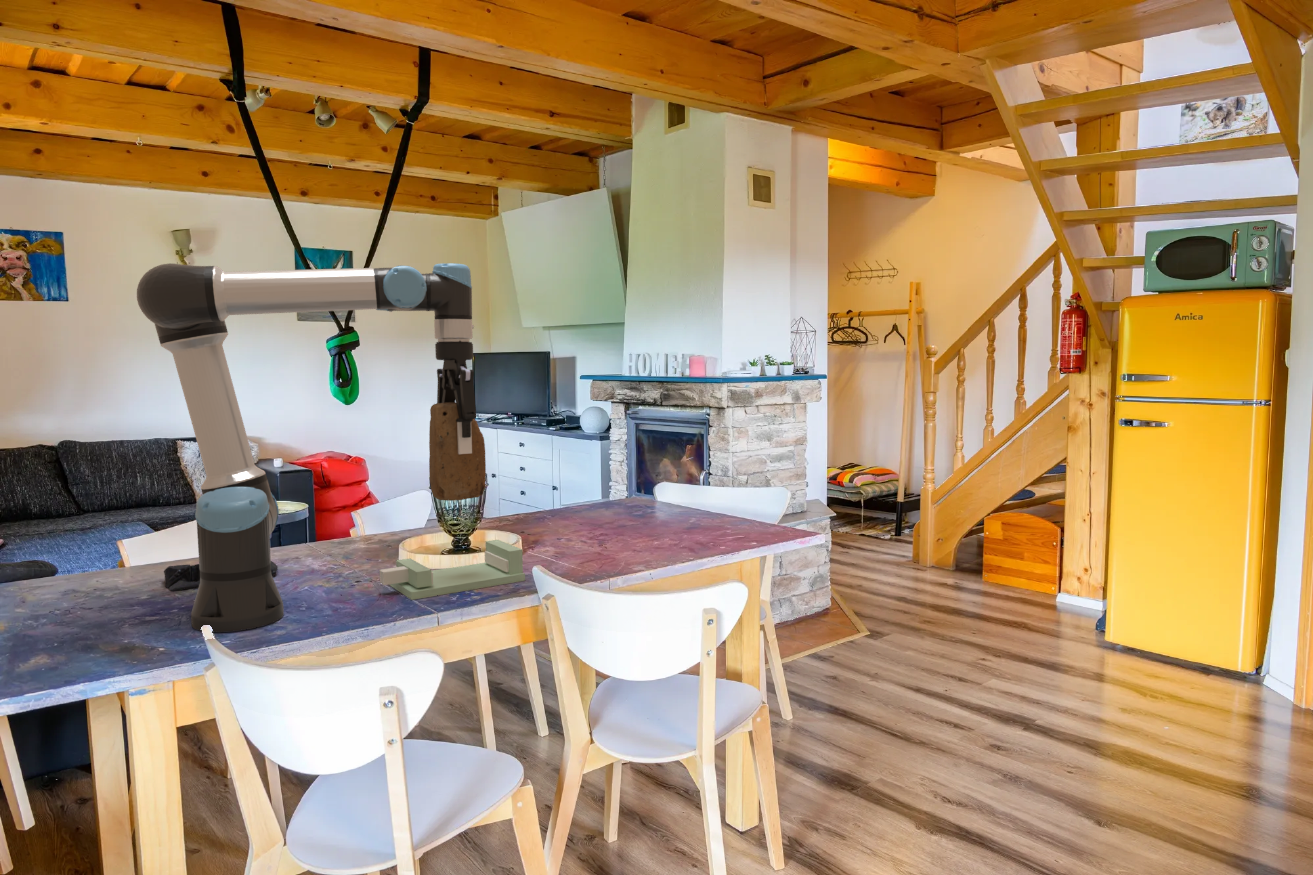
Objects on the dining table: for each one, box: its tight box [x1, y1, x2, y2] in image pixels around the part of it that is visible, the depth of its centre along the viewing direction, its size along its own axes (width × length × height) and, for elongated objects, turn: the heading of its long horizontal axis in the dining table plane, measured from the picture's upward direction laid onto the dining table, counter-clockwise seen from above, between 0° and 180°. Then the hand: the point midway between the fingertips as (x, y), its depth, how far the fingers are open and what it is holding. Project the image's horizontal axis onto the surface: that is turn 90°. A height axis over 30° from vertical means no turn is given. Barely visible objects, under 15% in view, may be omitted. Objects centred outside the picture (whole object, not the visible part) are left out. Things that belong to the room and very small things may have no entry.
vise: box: [389, 539, 526, 601], centre depth 184 cm, size 24×14×6 cm, turn 125°
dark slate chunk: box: [163, 560, 279, 592], centre depth 190 cm, size 15×22×5 cm
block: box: [428, 401, 487, 502], centre depth 182 cm, size 11×8×20 cm
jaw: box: [379, 557, 433, 588], centre depth 178 cm, size 8×12×3 cm
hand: (457, 451), depth 182 cm, fingers closed on block, 8 cm apart
